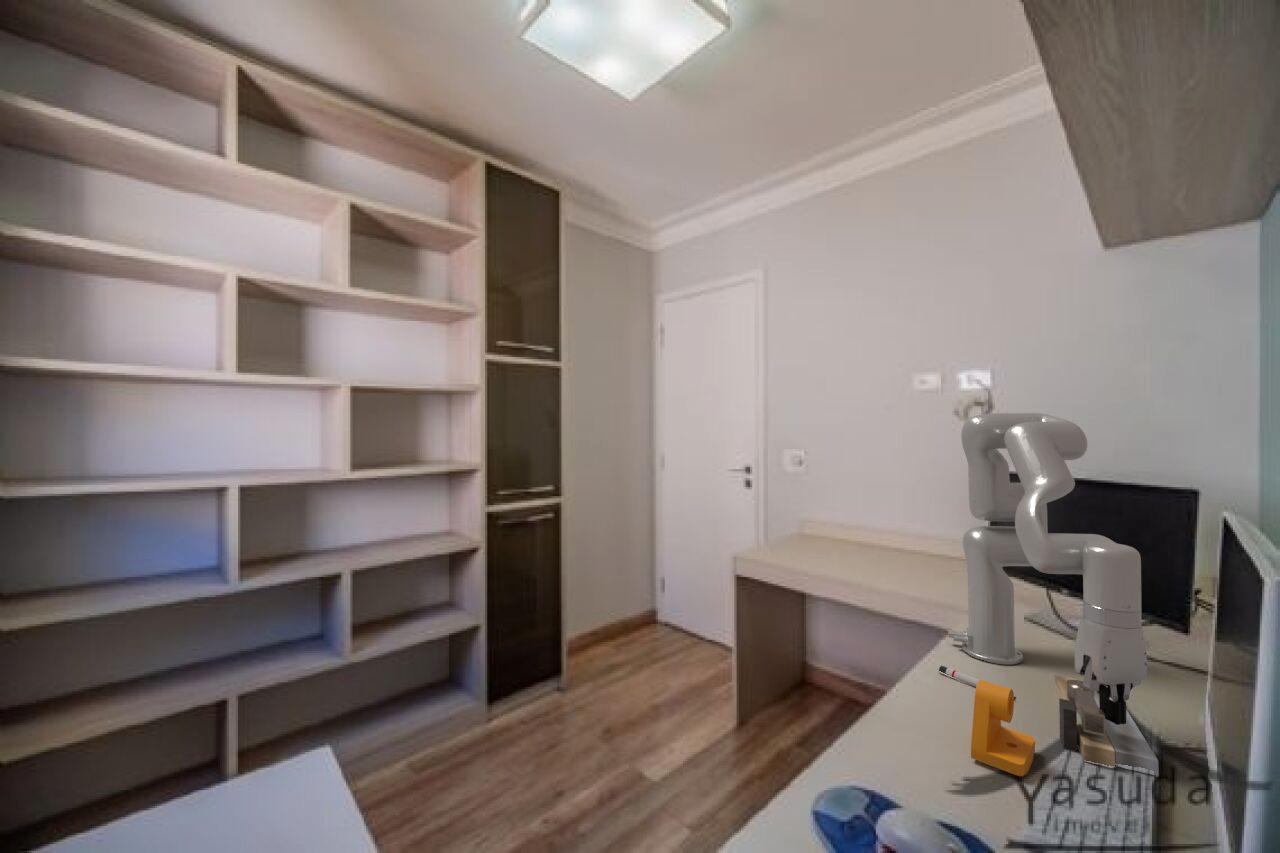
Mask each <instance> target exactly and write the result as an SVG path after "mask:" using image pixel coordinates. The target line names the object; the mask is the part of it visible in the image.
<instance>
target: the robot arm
mask: <svg viewBox="0 0 1280 853" xmlns="http://www.w3.org/2000/svg"><path fill="white" fill-rule="evenodd" d="M960 436H961V444H962V445H961V446H962V449H963V453H964V454H965V455H964V456H965V458H966V461H967V467H968V473H967V474H968V504H969V510H970V513H971V515H972V516H973V517H974V518H975V519H977V520H979V521H980V520H981V521H983V522H985V521H986V522H1014V526H1002V525H991V526H990V525H982V526H974V527H972V528H970V529H967V531H966V532H964V534H963V537H962V547H963V552H964V556H965V561H966V568H967V595H968V597H967V601H968V602H967V603H968V604H967V605H968V607H967V609H968V610H967V613H968V615H967V616H968V628H966V630H962V631H956V630H953V629H948V630H947V638H949V639H950V638H951V639H953V641H955V642H957V643H958V642H961V649H962V648H963V650H964V651H966V652H967V653H968V654H970V655H972V656H973V657H972V656H971V657H972V658H974V657H975V658H974V659H977V658H978V659H977V660H979V659H981V660H980V661H982V660H984V661H983V662H986V661H987V663H990V662H991V663H990V664H997V665H1005V666H1006V665H1017V664H1020V663H1022V662H1023V661H1024V655H1023V653H1022V652H1021V651H1020V650H1019V649H1017V648H1016V644H1015V643H1016V641H1015V639H1016V638H1015V635H1016V634H1015V626H1016V624H1015V587H1014V583H1013V581H1012V580H1011V578H1010V577H1009V575H1008V574H1007V572H1005V570H1004V569H1003V567H1033V568H1034V569H1035V570H1037V571H1039V572H1041V573H1044V574H1049V575H1050V574H1051V575H1082V579H1083V580H1082V581H1083V582H1082V587H1083V593H1082V594H1083V598H1082V599H1083V619H1080V621H1079V625H1078V629H1077V634H1076V639H1075V648H1074V649H1075V650H1074V670H1075V673H1076V674H1078V675H1080V676H1083V680H1082V681H1083V686H1084V687H1086V688H1088V689H1090V690H1094V691H1096V693H1097V694H1099V709H1101V710H1103V712H1104V714H1105V719H1107V720H1109V721H1111V722H1112V723H1114V724H1116V725H1120V724H1126V710H1127V701H1129V699H1130V696H1131V691H1132V689H1133V688H1134V687H1137V686H1140V685H1141V684H1142V681H1144V680H1146V678H1147V675H1148V674H1147V673H1148V656H1147V653H1148V652H1147V645H1146V644H1147V643H1146V638H1145V633H1144V629H1143V625H1142V560H1141V559H1142V558H1141V553H1140V552H1139V551H1138V550H1137V549H1136V548H1135V547H1133V546H1130V545H1127V544H1121V543H1117V542H1115V541H1113V540H1112V539H1110V538H1108V537H1106V536H1104V535H1101V534H1095V533H1065V532H1064V533H1062V532H1061V533H1059V532H1058V533H1054V532H1051V533H1050V532H1048V505H1047V504H1048V503H1050V502H1053V501H1057V500H1058V499H1061V498H1063V497H1065V496H1067V494H1068V495H1069V493H1071V492H1072V491H1073V490H1074V488H1075V486H1076V482H1075V478H1074V476H1073V474H1072V472H1071V470H1070V468H1068V465H1067V463H1066V462H1065V461H1075V460H1078V459H1081V458H1082V457H1083V456H1084V455H1085V454H1086V452H1087V450H1088V449H1087V448H1088V439H1087V436H1086V434H1085V432H1084V431H1083V429H1082V428H1081V427H1080V426H1079V425H1078V424H1076V423H1074V422H1073V421H1070V420H1067V419H1064V418H1060V417H1055V416H1053V415H1049V414H1045V413H1039V412H1038V413H1037V412H1036V413H1035V412H1032V413H1031V412H1020V413H1019V412H1015V413H1012V412H1011V413H1009V412H1006V413H1003V412H1002V413H1001V412H999V413H998V412H997V413H983V414H977V415H973V416H971V417H969V418H968V419H966V421H965V422H964V423H963V426H962V429H961V434H960ZM998 449H999V450H1000V449H1001V450H1002V449H1003V450H1004V449H1005V450H1007V452H1008V455H1009V457H1010V460H1011V462H1012V464H1013V467H1014V469H1015V472H1016V473H1017V476H1018V478H1019V481H1020V482H1011V481H1010V480H1011V478H1010V465H1009V462H1008V461H1007V459H1006V458H1005V456H1004V455H1003V454H1002V453H1001V451H999V450H998ZM963 650H962V651H963ZM964 651H963V652H964ZM968 654H967V655H968ZM970 655H969V656H970Z"/></svg>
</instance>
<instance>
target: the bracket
mask: <svg viewBox="0 0 1280 853" xmlns="http://www.w3.org/2000/svg"><path fill="white" fill-rule="evenodd" d="M974 692H975V693H974V705H973V714H972V716H973V717H972V729H971V741H970V758H971V759H973V760H976V761H979V762H982V763H984V764H987V765H989V766H992V767H994V768H997V769H999V770H1002V771H1004V772H1007V773H1010V774H1013V775H1015V776H1018V777H1024V776H1027V775H1028V773H1029V771H1030V768H1031V765H1032V764H1033V761H1034V754H1035V752H1036V739H1035V737H1033V736H1032V735H1029V734H1026V733H1023V732H1020V731H1018V730H1014V729H1011V728H1010V727H1009V728H1008V727H1005V726H1003V725H1002V721H1003V722H1004V723H1008V724H1010V723H1012V720H1013V716H1014V708H1015V707H1014V706H1015V700H1014V697H1015V694H1014V689H1012V688H1009V687H1006V686H1005V687H1004V686H1002V685H1000V684H999V685H998V684H995V683H992V682H988V681H984V680H982V679H979V681H978V683H977V686H976V688H975V691H974Z"/></svg>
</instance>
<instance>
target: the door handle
mask: <svg viewBox="0 0 1280 853" xmlns="http://www.w3.org/2000/svg"><path fill="white" fill-rule="evenodd" d="M1083 681H1084V680H1080V679H1078V680H1068V681H1067V698H1068V699H1069V700H1070V701H1072V702H1074V703H1075V705H1076V708H1077V710H1078V713H1079V715H1080V718H1081V724H1082V728H1083V731H1084V732H1088V733H1092V734H1096V735H1101V736H1105V714H1104V712H1103V710H1101V709H1099V707H1098V705H1097V703H1096V701H1095V691H1094V690H1090V689H1088V688H1086V687H1084V686H1083Z"/></svg>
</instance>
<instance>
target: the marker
mask: <svg viewBox="0 0 1280 853" xmlns="http://www.w3.org/2000/svg"><path fill="white" fill-rule="evenodd" d="M939 666H940V667H939V668H938V672H939V671H941V672H943V673H945V674H947V675H950V676H952V677H954V678H956V679H958V680H960V681H962V682H965V683H967V684H969V685H968V686H970V685H971V686H970V687H972V686H973V688H975V687H976V686H977V683H978V681H979V680H980V679H979V678H976V677H974V676H972V675H969V674H966V673H963V672H961V671H959V670H955V669H952V668H950V667H946V666H944V665H939ZM962 682H961V683H962ZM965 683H964V684H965ZM967 684H966V685H967ZM1016 699H1017V696H1014V701H1015V700H1016Z"/></svg>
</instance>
